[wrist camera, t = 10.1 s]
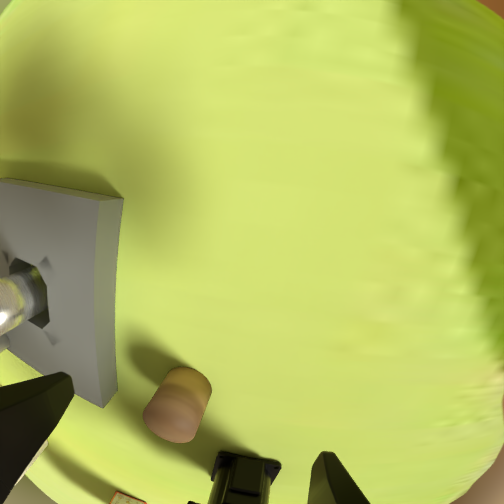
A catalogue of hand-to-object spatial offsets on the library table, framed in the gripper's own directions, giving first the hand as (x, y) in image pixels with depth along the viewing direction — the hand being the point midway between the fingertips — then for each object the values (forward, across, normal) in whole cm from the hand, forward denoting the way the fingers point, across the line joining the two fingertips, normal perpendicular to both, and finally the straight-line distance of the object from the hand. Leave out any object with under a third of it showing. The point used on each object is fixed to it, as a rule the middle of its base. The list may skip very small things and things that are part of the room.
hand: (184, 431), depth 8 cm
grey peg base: (+12, +18, +4) cm, 22 cm away
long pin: (+12, +18, +4) cm, 22 cm away
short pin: (+12, +3, +9) cm, 15 cm away
